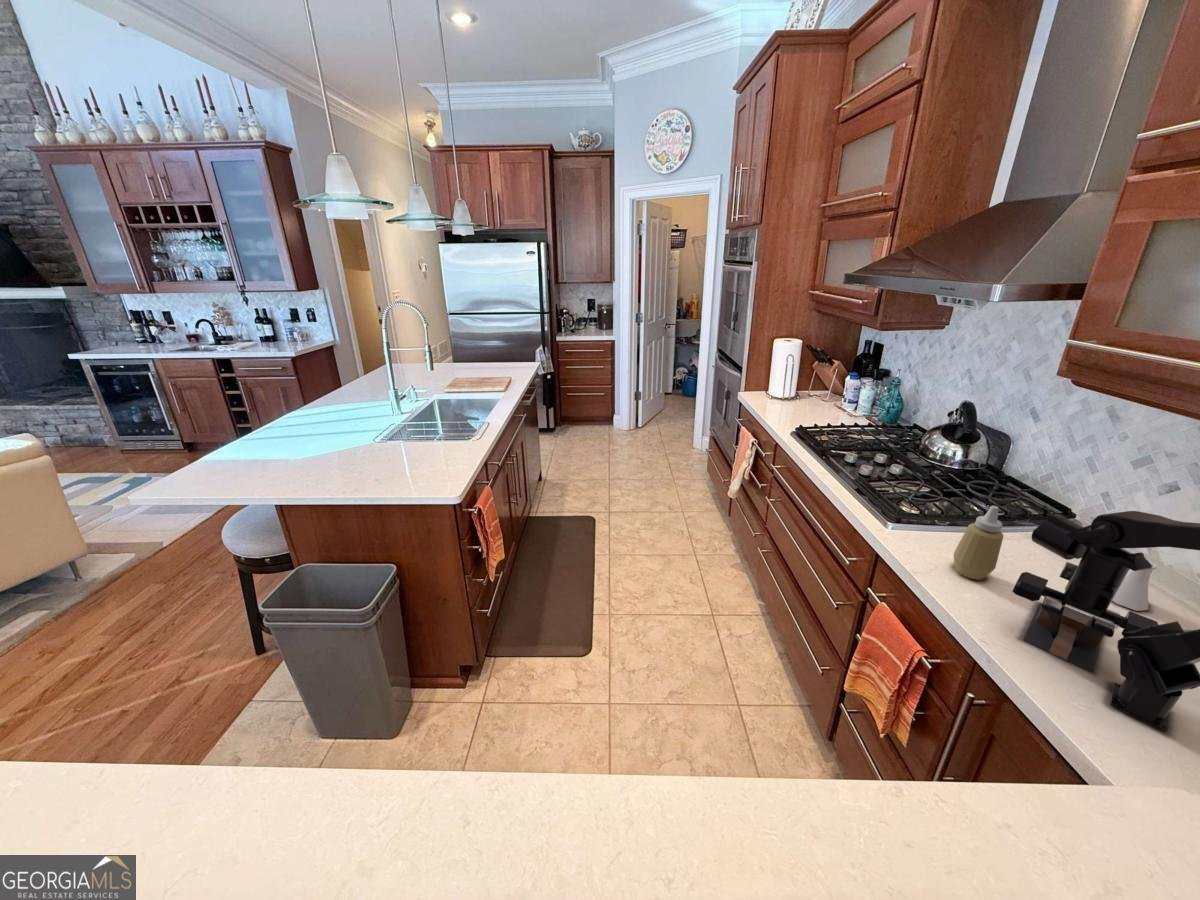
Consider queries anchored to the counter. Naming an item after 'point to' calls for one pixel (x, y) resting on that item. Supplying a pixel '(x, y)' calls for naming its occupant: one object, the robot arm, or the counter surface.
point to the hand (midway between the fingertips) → (1063, 641)
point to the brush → (1067, 631)
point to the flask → (1134, 589)
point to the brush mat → (1043, 639)
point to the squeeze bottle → (979, 546)
